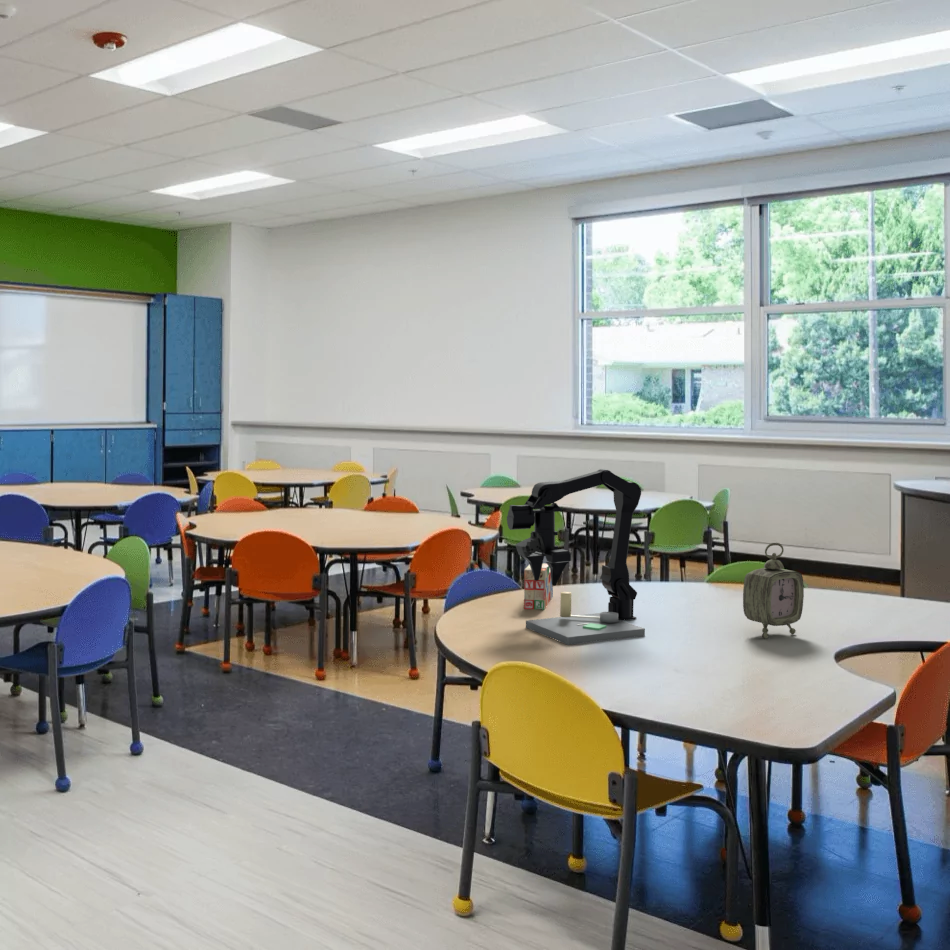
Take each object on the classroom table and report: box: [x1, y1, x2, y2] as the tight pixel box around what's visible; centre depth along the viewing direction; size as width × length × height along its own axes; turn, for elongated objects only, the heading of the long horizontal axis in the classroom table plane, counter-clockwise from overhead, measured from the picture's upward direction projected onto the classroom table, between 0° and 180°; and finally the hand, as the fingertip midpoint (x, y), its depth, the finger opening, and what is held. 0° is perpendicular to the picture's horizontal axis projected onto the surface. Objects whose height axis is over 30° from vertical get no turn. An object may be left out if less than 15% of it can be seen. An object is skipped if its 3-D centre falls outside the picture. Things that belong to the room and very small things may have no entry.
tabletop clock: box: [742, 542, 805, 640], centre depth 274 cm, size 14×9×25 cm, turn 122°
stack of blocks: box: [523, 562, 554, 611], centre depth 316 cm, size 21×6×12 cm, turn 169°
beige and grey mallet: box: [559, 591, 618, 623], centre depth 281 cm, size 16×5×7 cm, turn 77°
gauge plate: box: [525, 612, 646, 646], centre depth 277 cm, size 24×22×2 cm
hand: (545, 583), depth 287 cm, fingers open, 9 cm apart
